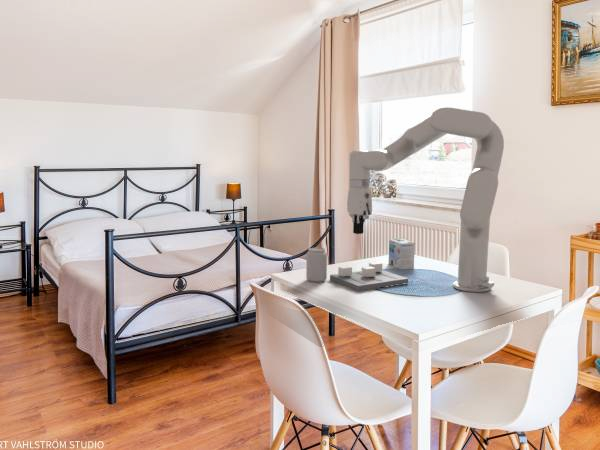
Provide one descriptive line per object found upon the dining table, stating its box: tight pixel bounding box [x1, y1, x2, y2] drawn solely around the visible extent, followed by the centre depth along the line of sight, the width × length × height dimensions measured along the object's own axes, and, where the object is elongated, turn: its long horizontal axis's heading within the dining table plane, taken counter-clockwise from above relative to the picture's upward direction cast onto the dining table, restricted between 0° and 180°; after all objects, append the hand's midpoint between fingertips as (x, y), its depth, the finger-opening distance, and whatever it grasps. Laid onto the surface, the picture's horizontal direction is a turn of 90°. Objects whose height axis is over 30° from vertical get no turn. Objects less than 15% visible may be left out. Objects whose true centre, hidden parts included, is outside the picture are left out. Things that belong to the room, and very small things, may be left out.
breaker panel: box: [329, 261, 409, 293], centre depth 191 cm, size 18×22×5 cm
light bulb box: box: [388, 238, 416, 270], centre depth 217 cm, size 11×7×11 cm, turn 17°
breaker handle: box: [361, 266, 376, 277], centre depth 191 cm, size 3×4×3 cm
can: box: [305, 247, 328, 283], centre depth 192 cm, size 8×8×12 cm
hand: (358, 233), depth 195 cm, fingers closed
